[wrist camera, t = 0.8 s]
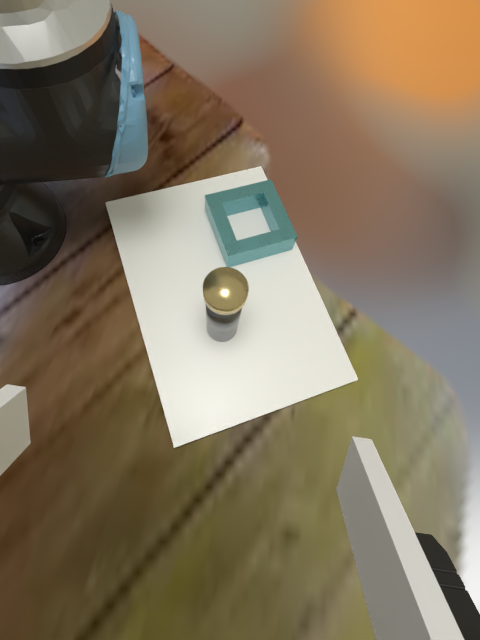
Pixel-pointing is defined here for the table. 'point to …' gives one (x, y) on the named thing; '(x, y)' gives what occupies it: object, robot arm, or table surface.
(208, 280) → the gold capped grey cylinder
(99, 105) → the robot arm
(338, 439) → the table surface
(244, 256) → the teal square frame
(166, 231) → the board
